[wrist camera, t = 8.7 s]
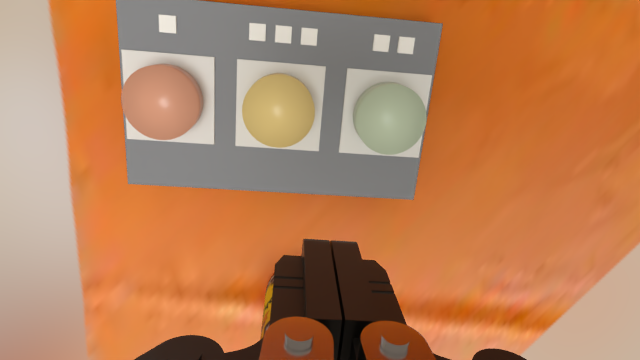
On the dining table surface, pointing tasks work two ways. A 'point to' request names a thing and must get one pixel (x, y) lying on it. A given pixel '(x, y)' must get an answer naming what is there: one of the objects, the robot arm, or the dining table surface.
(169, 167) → the button panel
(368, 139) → the sage button
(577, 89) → the dining table surface
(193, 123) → the terracotta button
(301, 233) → the dining table surface
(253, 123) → the ochre button
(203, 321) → the dining table surface
